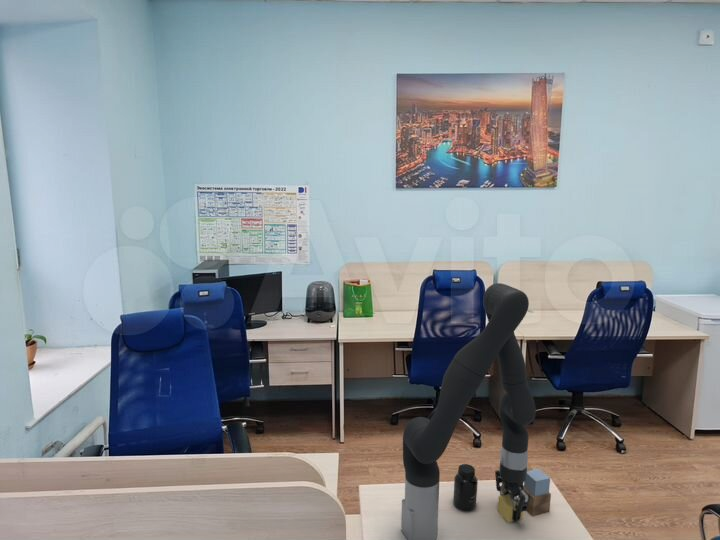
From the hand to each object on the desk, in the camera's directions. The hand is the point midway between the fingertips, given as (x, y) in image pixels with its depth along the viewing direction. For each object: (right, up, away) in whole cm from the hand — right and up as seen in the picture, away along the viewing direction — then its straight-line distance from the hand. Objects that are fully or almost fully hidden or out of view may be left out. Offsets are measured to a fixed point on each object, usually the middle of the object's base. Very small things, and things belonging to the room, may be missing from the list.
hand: (510, 513), depth 146 cm
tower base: (+8, 0, +3) cm, 9 cm away
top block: (0, 0, 0) cm, 0 cm away
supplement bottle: (-12, 0, +5) cm, 13 cm away
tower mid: (+8, +6, +2) cm, 11 cm away
